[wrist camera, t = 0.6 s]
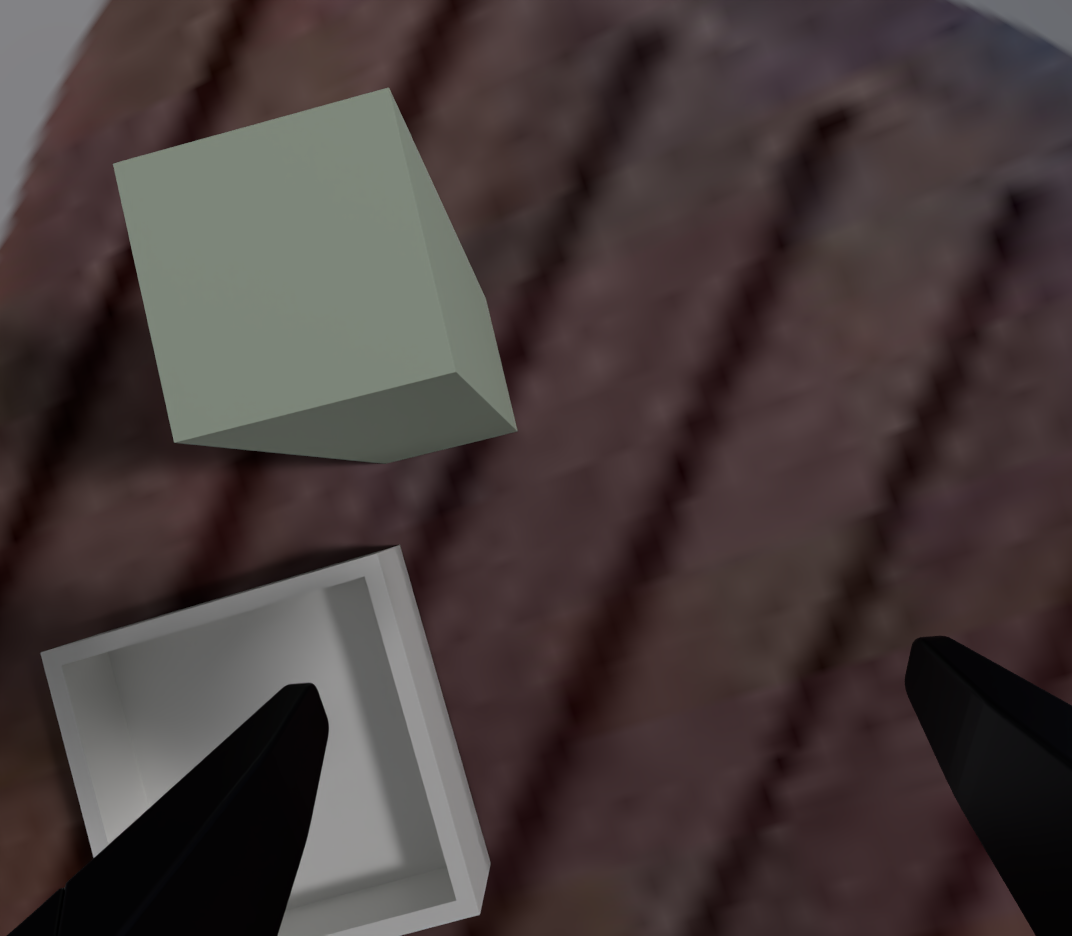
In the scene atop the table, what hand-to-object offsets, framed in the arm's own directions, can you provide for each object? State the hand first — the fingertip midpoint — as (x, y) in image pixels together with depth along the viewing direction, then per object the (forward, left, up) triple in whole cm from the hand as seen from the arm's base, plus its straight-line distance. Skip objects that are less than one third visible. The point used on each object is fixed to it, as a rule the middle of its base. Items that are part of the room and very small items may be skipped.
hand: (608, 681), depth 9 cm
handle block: (+6, +7, -13) cm, 15 cm away
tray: (-8, +10, -13) cm, 18 cm away
